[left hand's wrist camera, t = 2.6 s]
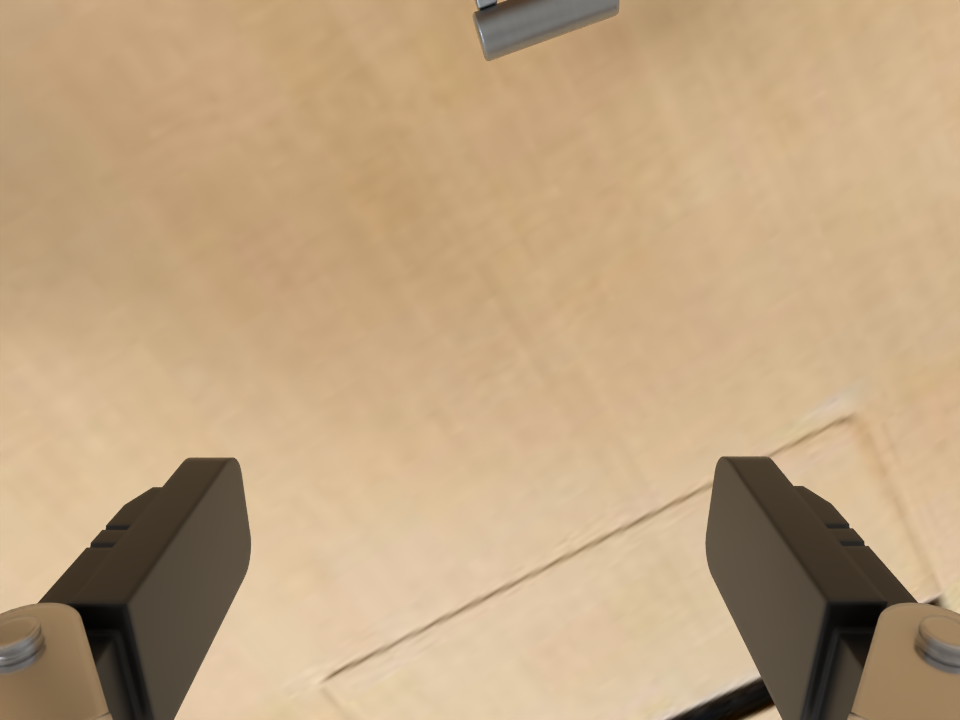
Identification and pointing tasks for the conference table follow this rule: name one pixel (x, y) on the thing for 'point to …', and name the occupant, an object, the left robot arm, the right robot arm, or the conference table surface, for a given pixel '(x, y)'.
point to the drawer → (533, 21)
